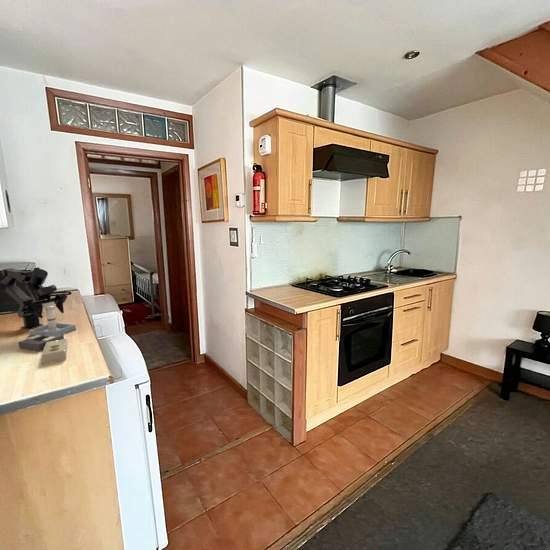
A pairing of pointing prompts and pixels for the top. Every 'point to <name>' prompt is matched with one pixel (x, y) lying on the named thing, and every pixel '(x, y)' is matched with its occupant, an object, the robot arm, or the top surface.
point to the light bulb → (51, 318)
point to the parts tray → (61, 330)
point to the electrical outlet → (54, 351)
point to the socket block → (39, 341)
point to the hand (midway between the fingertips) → (52, 315)
